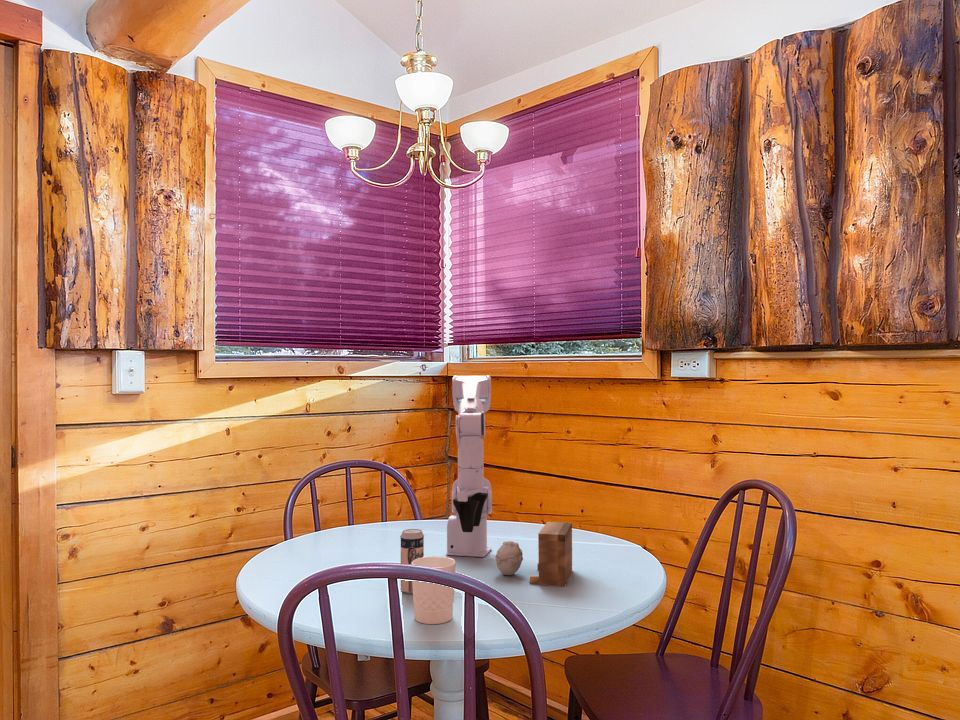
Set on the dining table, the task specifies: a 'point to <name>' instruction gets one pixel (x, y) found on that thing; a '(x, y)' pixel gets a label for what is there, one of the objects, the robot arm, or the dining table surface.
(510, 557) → the pink clay lump
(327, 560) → the dining table surface
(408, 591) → the beer can
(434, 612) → the pink cup
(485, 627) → the dining table surface
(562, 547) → the upright wooden block
